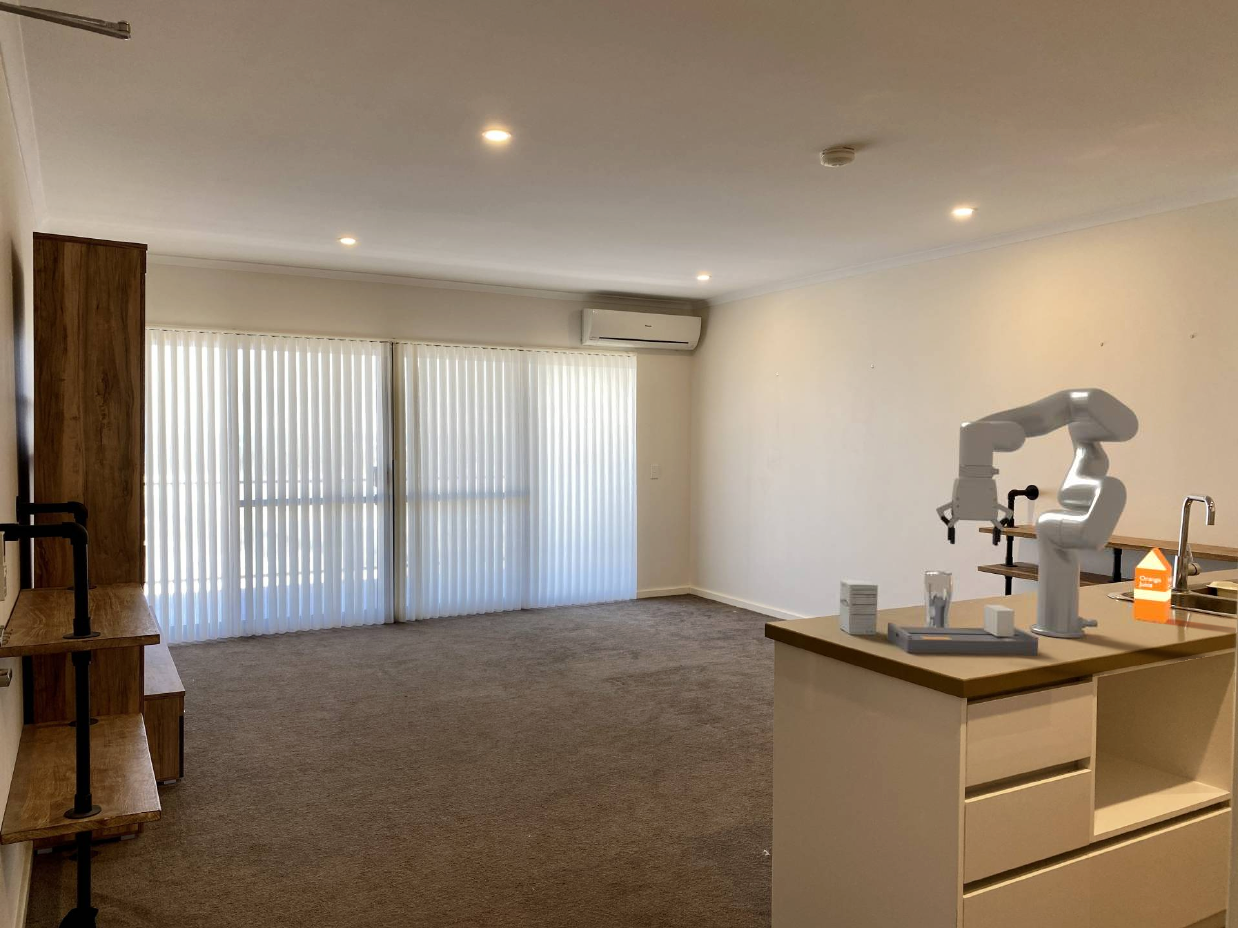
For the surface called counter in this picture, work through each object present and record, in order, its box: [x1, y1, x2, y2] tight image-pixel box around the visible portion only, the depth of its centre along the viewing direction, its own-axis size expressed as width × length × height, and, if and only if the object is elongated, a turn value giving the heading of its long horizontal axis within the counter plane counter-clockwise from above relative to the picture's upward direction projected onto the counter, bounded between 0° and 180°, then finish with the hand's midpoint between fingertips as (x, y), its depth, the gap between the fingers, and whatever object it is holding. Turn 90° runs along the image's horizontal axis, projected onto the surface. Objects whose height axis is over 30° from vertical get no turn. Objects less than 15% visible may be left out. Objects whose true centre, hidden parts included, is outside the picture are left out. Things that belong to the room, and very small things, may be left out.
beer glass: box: [923, 570, 954, 628], centre depth 224 cm, size 7×7×15 cm
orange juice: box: [1132, 546, 1173, 624], centre depth 246 cm, size 8×9×20 cm
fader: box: [983, 604, 1015, 636], centre depth 207 cm, size 4×7×7 cm, turn 1°
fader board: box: [886, 622, 1039, 656], centre depth 207 cm, size 30×14×4 cm, turn 91°
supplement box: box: [838, 579, 879, 636], centre depth 221 cm, size 7×7×13 cm
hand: (973, 544), depth 210 cm, fingers open, 9 cm apart
